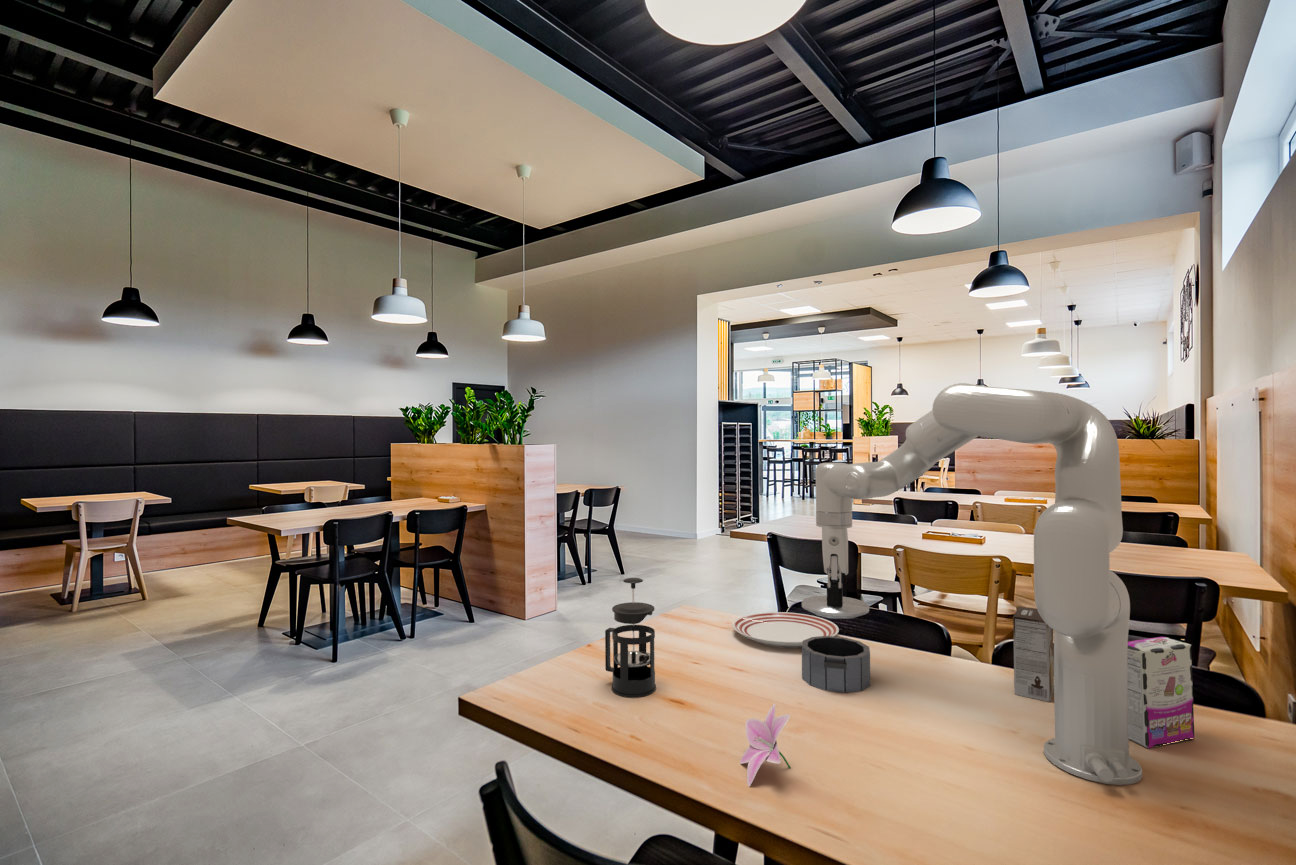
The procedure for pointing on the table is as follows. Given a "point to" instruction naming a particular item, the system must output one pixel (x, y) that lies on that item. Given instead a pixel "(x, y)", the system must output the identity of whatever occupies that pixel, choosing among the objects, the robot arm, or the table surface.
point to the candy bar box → (1159, 691)
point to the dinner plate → (783, 628)
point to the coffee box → (1033, 655)
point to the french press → (631, 661)
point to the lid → (847, 611)
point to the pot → (836, 664)
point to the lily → (763, 742)
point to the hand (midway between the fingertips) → (834, 603)
